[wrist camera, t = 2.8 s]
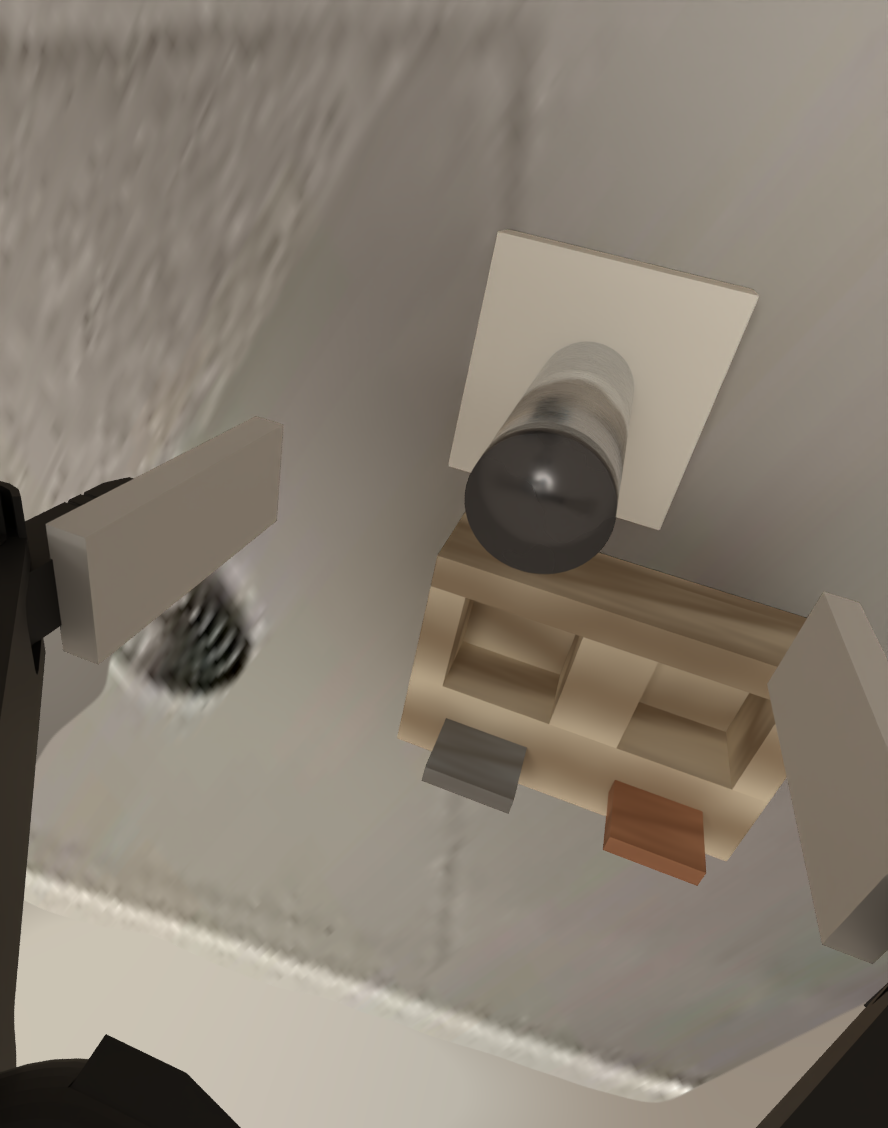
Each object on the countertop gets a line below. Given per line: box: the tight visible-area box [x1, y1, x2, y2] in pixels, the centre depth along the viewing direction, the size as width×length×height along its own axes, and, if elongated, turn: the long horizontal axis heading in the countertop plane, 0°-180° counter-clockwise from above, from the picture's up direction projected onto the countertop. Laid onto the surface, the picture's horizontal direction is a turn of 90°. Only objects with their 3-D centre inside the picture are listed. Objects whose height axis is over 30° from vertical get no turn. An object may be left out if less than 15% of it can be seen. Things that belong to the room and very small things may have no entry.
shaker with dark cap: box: [465, 342, 634, 574], centre depth 22 cm, size 4×4×12 cm
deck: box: [448, 229, 759, 530], centre depth 28 cm, size 10×10×2 cm
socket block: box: [397, 511, 807, 886], centre depth 32 cm, size 12×18×8 cm, turn 79°
